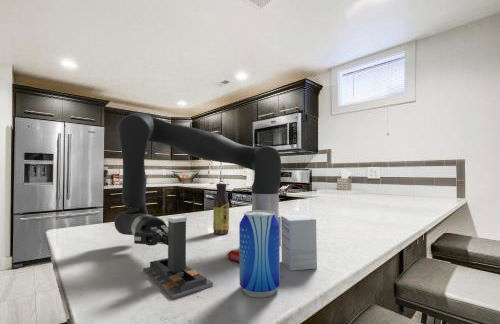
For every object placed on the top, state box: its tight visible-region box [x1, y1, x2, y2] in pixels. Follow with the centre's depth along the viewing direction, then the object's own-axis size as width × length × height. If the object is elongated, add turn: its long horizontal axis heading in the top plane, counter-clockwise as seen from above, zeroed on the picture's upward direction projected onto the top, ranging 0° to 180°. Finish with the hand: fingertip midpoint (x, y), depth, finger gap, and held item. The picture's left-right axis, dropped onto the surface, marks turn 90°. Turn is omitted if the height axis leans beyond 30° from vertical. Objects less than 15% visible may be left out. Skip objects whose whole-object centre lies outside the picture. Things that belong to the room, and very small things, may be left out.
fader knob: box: [167, 215, 188, 277], centre depth 60 cm, size 4×3×13 cm
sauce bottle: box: [212, 183, 230, 235], centre depth 104 cm, size 7×6×20 cm
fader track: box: [142, 257, 214, 300], centre depth 60 cm, size 18×9×2 cm, turn 40°
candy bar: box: [226, 249, 240, 263], centre depth 69 cm, size 16×4×3 cm, turn 54°
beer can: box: [238, 210, 281, 298], centre depth 54 cm, size 8×8×16 cm
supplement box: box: [280, 214, 318, 272], centre depth 68 cm, size 7×7×13 cm
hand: (172, 241), depth 61 cm, fingers closed
